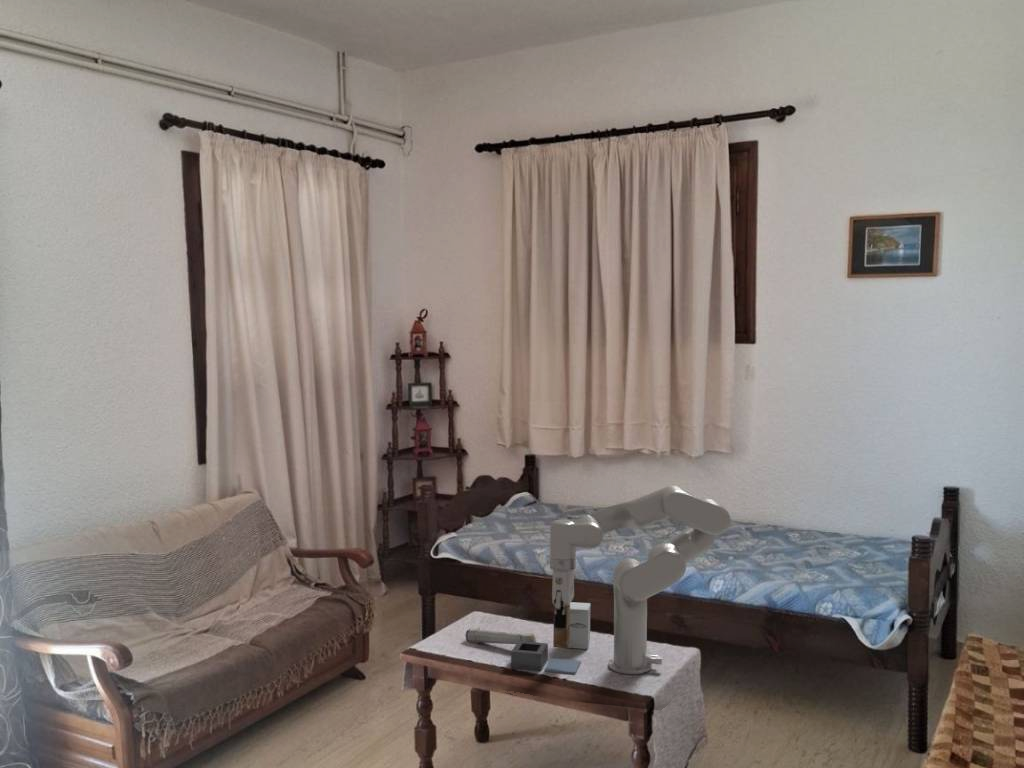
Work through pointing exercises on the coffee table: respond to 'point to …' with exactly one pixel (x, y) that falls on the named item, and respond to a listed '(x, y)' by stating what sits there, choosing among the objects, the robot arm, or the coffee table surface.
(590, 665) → the coffee table surface
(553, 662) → the rubber mat
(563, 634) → the key peg
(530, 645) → the block
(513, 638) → the grey wand device
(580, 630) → the supplement box
